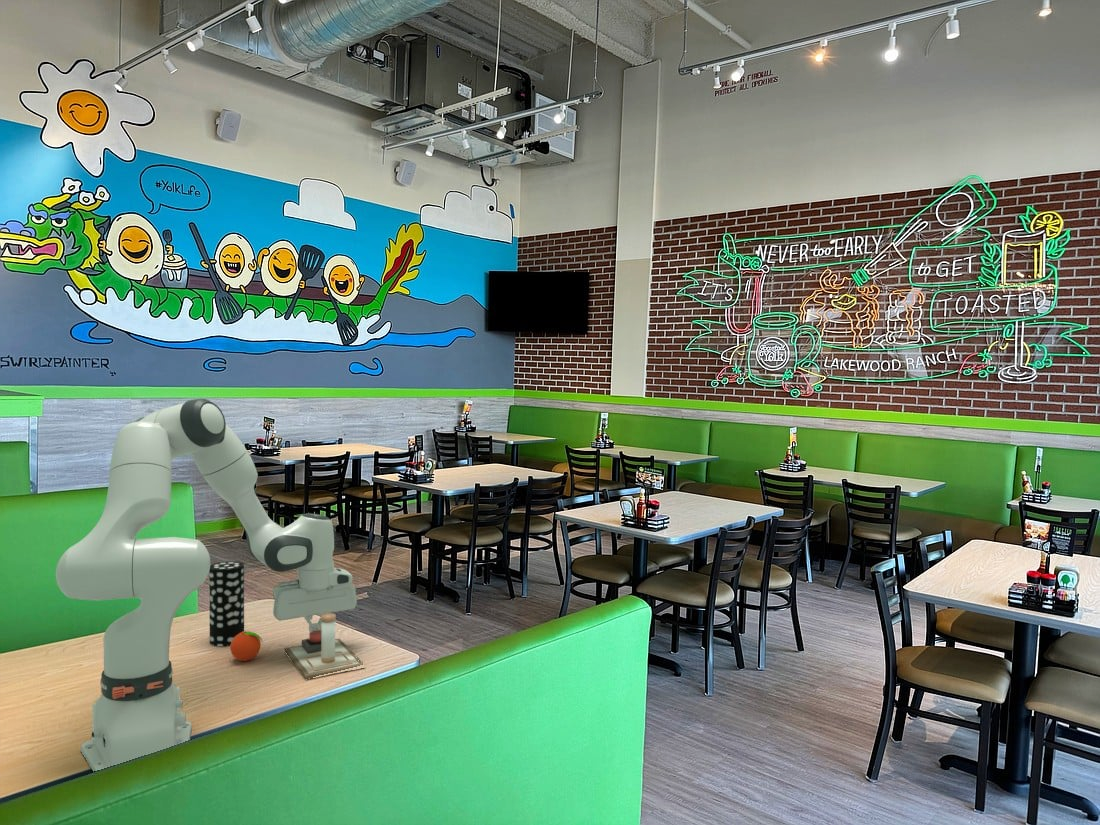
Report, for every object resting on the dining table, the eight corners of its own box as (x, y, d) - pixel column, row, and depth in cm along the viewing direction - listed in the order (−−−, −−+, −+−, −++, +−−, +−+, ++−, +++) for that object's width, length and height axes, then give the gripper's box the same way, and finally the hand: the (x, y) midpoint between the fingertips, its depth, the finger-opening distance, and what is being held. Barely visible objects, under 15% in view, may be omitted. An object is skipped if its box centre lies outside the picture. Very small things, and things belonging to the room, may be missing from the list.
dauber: (337, 661, 185) (337, 616, 184) (323, 664, 183) (323, 618, 182) (332, 656, 188) (333, 612, 187) (319, 659, 186) (319, 614, 185)
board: (364, 668, 184) (364, 657, 184) (305, 680, 176) (305, 668, 176) (339, 642, 201) (339, 631, 200) (284, 651, 193) (284, 641, 193)
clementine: (269, 655, 190) (269, 627, 190) (256, 666, 184) (256, 637, 183) (239, 653, 191) (239, 625, 191) (224, 664, 184) (224, 635, 184)
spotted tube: (236, 647, 196) (235, 570, 194) (203, 646, 196) (203, 569, 194) (249, 635, 204) (249, 561, 203) (218, 634, 204) (217, 560, 203)
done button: (326, 640, 193) (326, 633, 193) (311, 643, 191) (311, 636, 191) (321, 636, 196) (321, 629, 196) (307, 638, 194) (307, 631, 194)
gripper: (276, 586, 184) (276, 642, 185) (358, 575, 195) (358, 628, 196) (270, 579, 189) (270, 634, 190) (350, 569, 201) (350, 620, 202)
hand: (315, 631), depth 193 cm, fingers closed
